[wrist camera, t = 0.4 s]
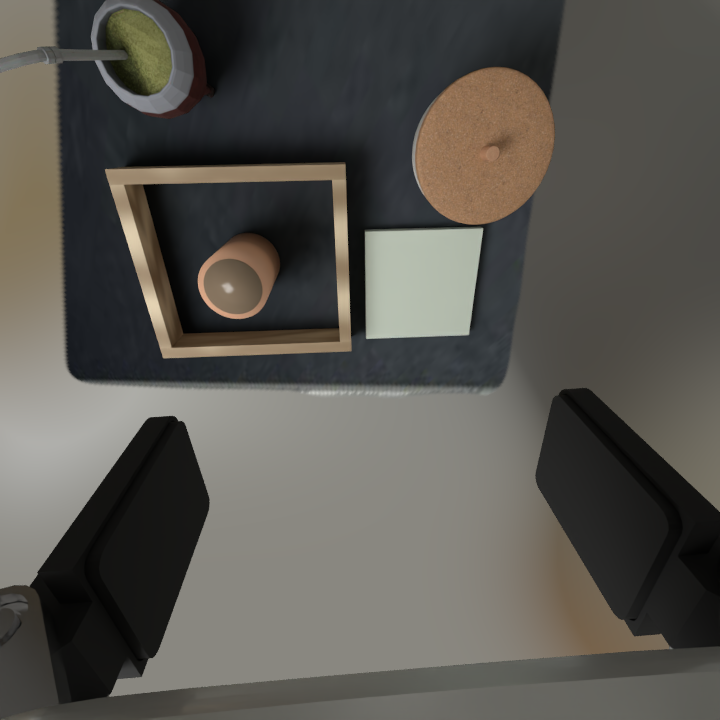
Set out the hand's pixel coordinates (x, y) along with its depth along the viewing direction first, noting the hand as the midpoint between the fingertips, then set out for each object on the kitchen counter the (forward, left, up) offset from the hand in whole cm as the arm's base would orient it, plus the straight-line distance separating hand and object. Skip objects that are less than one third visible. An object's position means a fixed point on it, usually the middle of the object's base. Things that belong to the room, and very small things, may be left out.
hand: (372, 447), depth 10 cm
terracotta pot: (+4, -10, -34) cm, 35 cm away
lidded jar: (-6, +11, -34) cm, 36 cm away
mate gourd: (-12, -14, -34) cm, 38 cm away
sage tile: (+7, +8, -33) cm, 35 cm away
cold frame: (+4, -10, -33) cm, 35 cm away
